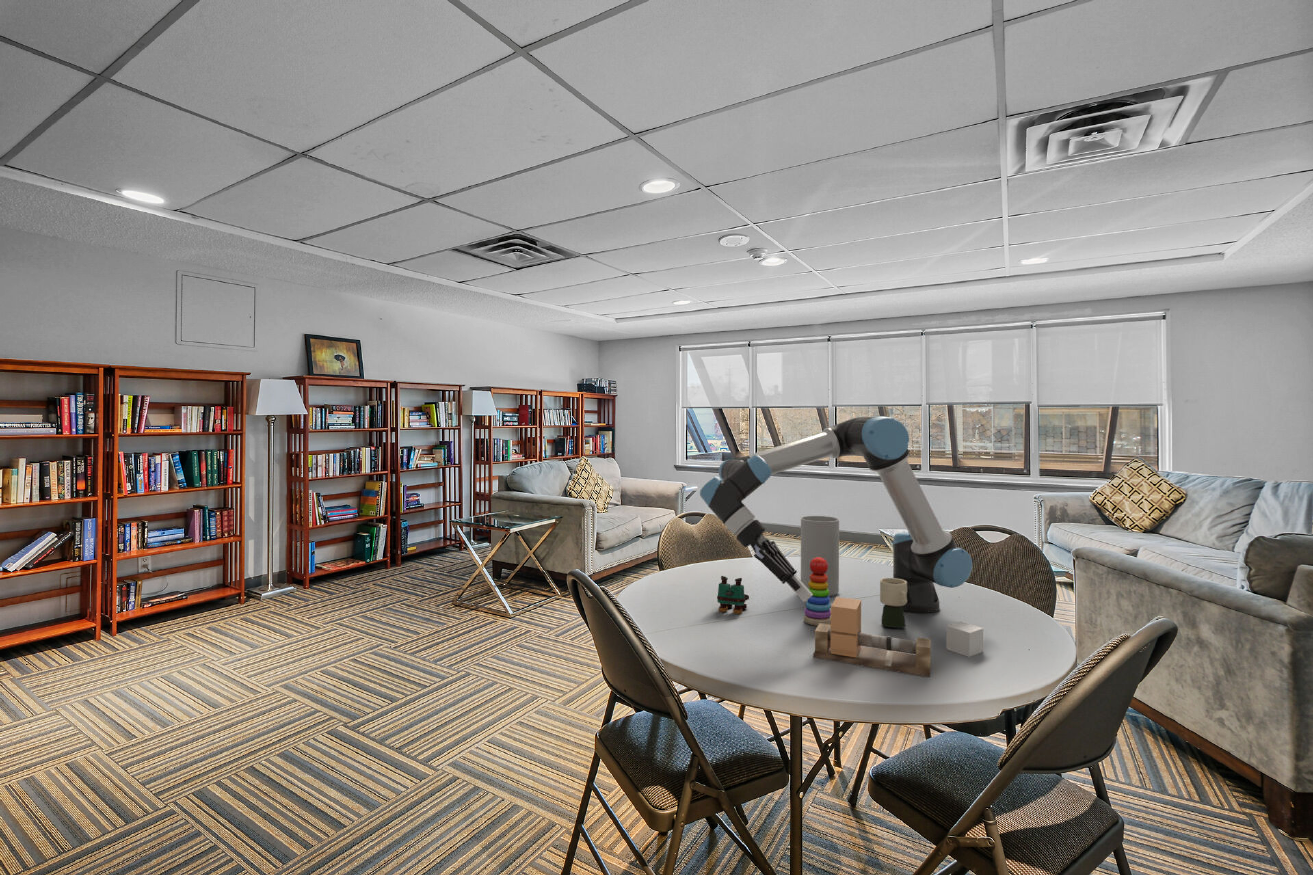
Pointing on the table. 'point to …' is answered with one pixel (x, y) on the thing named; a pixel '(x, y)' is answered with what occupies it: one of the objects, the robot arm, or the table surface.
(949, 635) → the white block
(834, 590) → the cylinder vase
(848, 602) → the wooden block
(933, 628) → the table surface
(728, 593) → the binoculars
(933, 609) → the robot arm
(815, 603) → the stacking toy
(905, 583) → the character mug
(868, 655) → the pipe stand
